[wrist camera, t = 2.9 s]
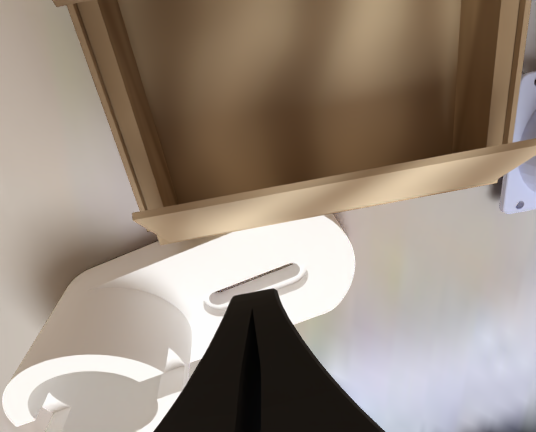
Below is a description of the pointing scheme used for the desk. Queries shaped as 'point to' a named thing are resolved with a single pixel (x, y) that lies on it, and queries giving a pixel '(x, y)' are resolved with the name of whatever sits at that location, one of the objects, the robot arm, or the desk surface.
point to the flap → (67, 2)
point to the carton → (297, 87)
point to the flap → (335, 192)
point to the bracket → (165, 321)
